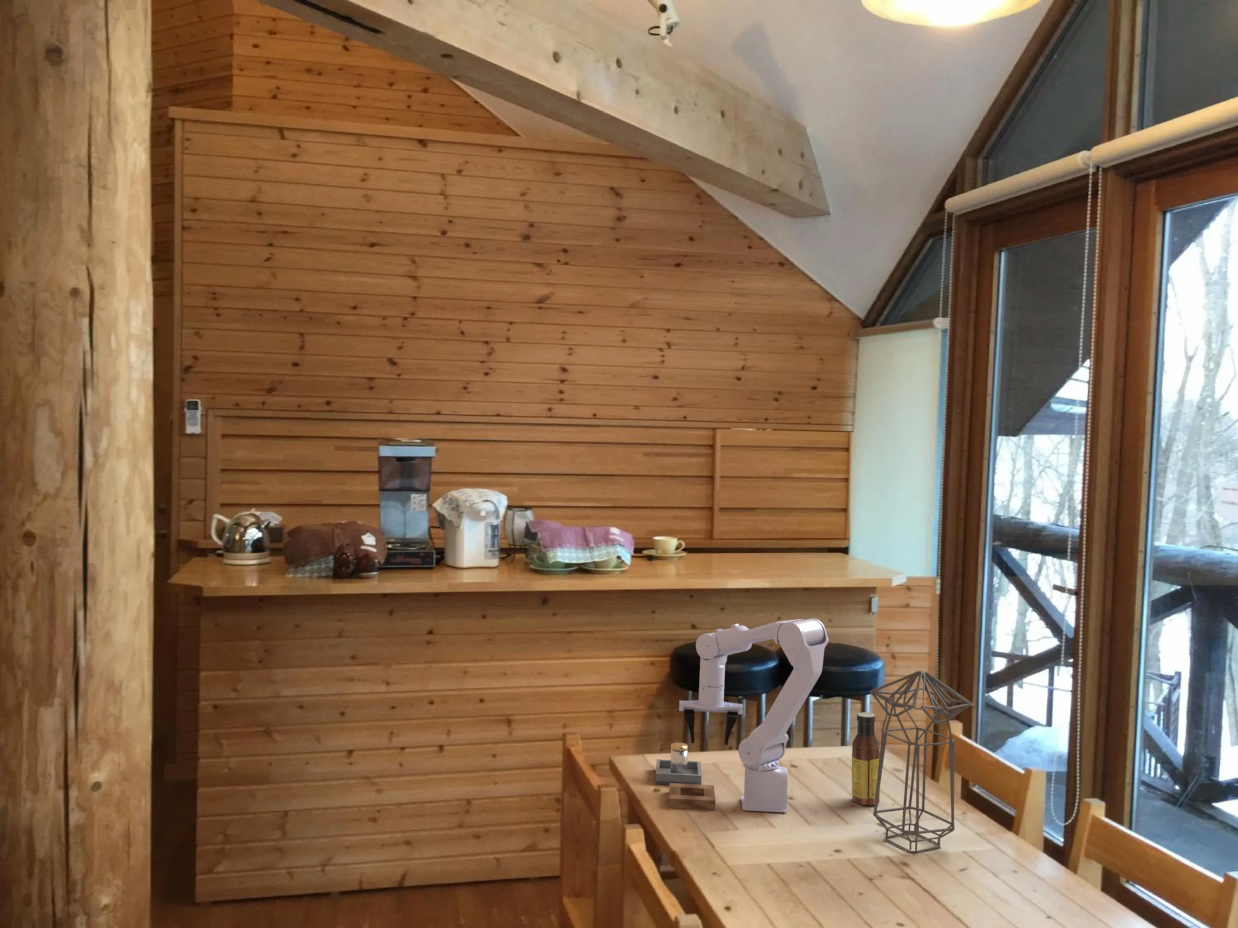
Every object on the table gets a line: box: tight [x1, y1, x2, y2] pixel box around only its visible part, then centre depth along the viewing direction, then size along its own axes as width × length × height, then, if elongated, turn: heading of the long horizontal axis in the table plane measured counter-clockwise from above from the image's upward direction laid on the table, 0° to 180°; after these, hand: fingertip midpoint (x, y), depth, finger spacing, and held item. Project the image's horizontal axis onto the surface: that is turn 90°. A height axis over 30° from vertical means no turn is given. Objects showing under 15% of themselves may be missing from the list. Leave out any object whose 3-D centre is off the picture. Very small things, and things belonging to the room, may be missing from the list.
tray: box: [655, 758, 703, 786], centre depth 240 cm, size 11×11×2 cm
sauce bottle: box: [851, 711, 881, 807], centre depth 228 cm, size 6×6×20 cm
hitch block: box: [668, 783, 717, 811], centre depth 225 cm, size 10×10×2 cm
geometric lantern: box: [869, 669, 974, 854], centre depth 205 cm, size 16×16×35 cm
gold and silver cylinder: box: [670, 742, 689, 774], centre depth 240 cm, size 4×4×7 cm
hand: (709, 742), depth 234 cm, fingers open, 7 cm apart
